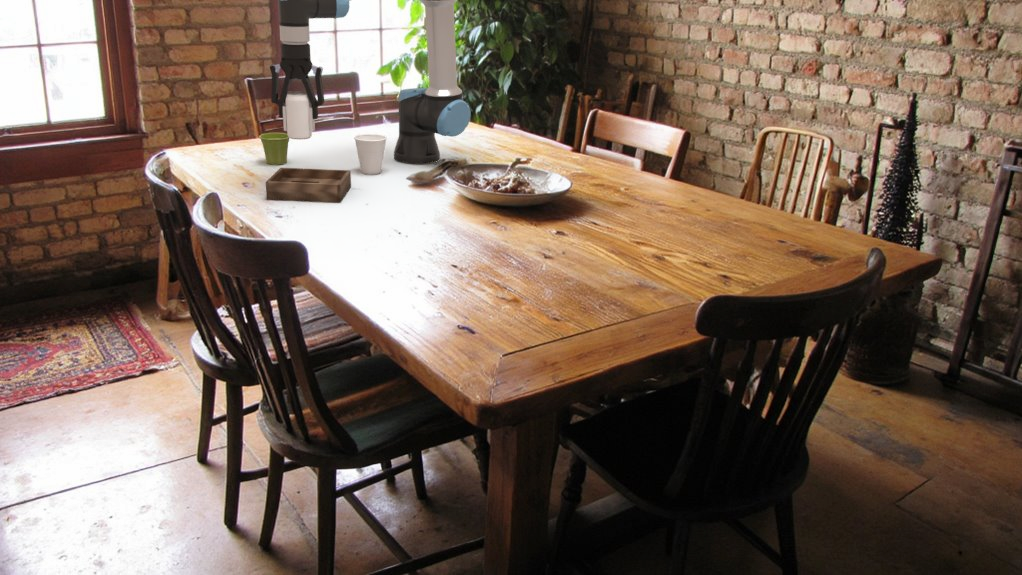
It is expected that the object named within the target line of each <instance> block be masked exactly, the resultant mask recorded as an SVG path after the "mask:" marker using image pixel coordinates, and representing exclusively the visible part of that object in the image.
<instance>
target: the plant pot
mask: <svg viewBox="0 0 1022 575" xmlns="http://www.w3.org/2000/svg"><path fill="white" fill-rule="evenodd" d="M258 136H259V139H260V140H261V143H262V147H263V152H264V157H265V162H266V164H268V165H269V166H271V165H272V166H279V165H285V164H287V159H288V150H289V149H288V148H289V142H290V138H289V137H288V135H287V133H284V132H268V133H262V134H260V135H258Z"/></svg>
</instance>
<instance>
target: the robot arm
mask: <svg viewBox="0 0 1022 575" xmlns="http://www.w3.org/2000/svg"><path fill="white" fill-rule="evenodd" d="M350 1H351V0H277V4H278V19H279V20H278V21H279V40H280V41H281V42H282V43H280V61H279V63H278V64H272V65H270V67H269V69H270V70H269V71H270V74H271V96H270V97H271V103H272V104H276V105H277V106H278V114H279V118H280V119H281V118H282V121H283V123H282V124H283V131H285V132H287V119H286V96H287V92H289V90H290V86H291V82H292V81H293V80H294V79H295V80H296V79H297V80H301V82H302V84H303V86H304V89H305V92H307V95H308V97H309V100H310V107H309V121H310V132H312V133H313V132H314V131H316V127H315V126H316V124H315V123H316V122H315V120H317V119H318V118H319V109H318V108H319V107H320V106H322V105H323V104H324V103H325V94H324V86H323V85H324V84H323V79H322V78H323V77H322V74H323V70H324V68H323V67H322V66H317V65H313V62H312V61H311V60H312V59H311V45H310V43H309V42H310V41H311V40H310V36H311V35H310V20H311V19H334V20H335V19H339V18H341V19H343V18H344V17H346V16H347V15H348V13H349V11H350ZM419 2H420V3H422V4H423V5H424V13H425V30H426V31H425V32H426V48H427V64H428V65H427V67H428V82H429V83H428V87H419V88H418V87H416V88H415V87H414V88H405V89H402V90H400V91H399V93H398V102H397V103H398V138H397V141H396V145H395V148H394V150H393V160H395V161H396V162H399V163H404V164H411V165H412V164H413V165H426V164H432V163H433V164H434V163H437V162H439V161H440V160H441V157H440V156H441V152H440V148H439V146H438V142H437V140H436V136H435V134H437V135H441V136H442V137H457V136H459V135H461V134H462V133H463V132H464V131H466V128H467V127H468V126H469V124H470V121H471V108H470V106H469V104H468V103H467V102H466V101H464V100H463V90H462V89H461V88H460V87H459V86H458V76H457V74H458V73H457V52H456V51H457V50H456V49H457V48H456V27H455V4H456V3H457V2H458V0H419ZM281 70H282V72H284V74H285V77H284V79H283V80H284V81H283V84H282V89H281V91H280V96H279V88H280V87H279V82H280V81H279V78H280V75H279V73H280V72H281ZM311 71H313V72H312V73H313V75H314V80H315V81H314V83H315V88H316V94H315V92H314V89H313V87H312V83H311V81H310V77H309V73H310V72H311ZM316 96H317V97H316ZM439 159H440V160H439ZM438 160H439V161H438ZM436 161H437V162H436Z"/></svg>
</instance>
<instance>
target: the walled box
mask: <svg viewBox="0 0 1022 575" xmlns="http://www.w3.org/2000/svg"><path fill="white" fill-rule="evenodd" d="M351 173H352V172H351V170H349V169H348V170H347V169H345V170H344V169H328V168H327V169H326V168H325V169H324V168H323V169H322V168H303V167H302V168H301V167H297V168H296V167H279V169H277V171H276V172H274V173H273V174H272V175H271V176H269V178H268V179H267V180H266V181H265V193H266V196H265V197H266V200H267V201H285V202H288V201H289V202H312V203H337V204H341V203H342V201H343V200H344V198H345V197H346V196H347V194H348V193H349V192H350V189H351V188H352V180H351V179H352V177H351V176H352V174H351Z"/></svg>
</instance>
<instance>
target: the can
mask: <svg viewBox="0 0 1022 575" xmlns="http://www.w3.org/2000/svg"><path fill="white" fill-rule="evenodd" d="M285 105H286V119H287V131H286V132H287V133H286V134H287V135H288V137H289V139H292V140H308V139H310V138H311V137H312V133H313V132H310V121H309V107H310V106H311V103H310V100H309V97H308V95H307V92H306V91H303V90H299V91H298V90H293V91H292V90H291V91H288V92H287V96H286V101H285Z"/></svg>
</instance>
